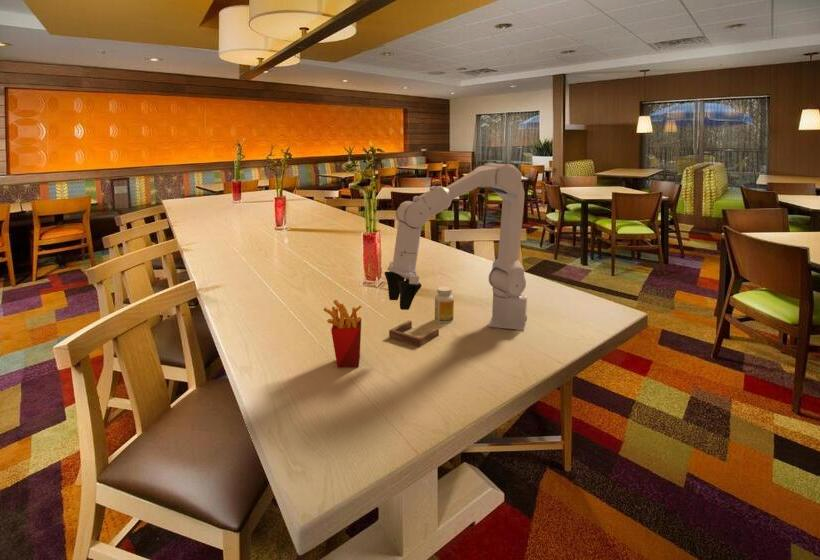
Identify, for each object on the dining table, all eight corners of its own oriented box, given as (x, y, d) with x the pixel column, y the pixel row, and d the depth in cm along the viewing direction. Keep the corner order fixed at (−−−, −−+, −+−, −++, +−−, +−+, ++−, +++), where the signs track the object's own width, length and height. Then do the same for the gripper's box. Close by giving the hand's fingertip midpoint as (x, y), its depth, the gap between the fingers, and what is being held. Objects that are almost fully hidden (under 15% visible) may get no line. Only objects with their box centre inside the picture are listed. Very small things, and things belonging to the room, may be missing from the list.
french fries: (364, 355, 116) (361, 297, 112) (362, 372, 108) (359, 309, 104) (327, 357, 116) (323, 298, 112) (322, 373, 108) (318, 310, 104)
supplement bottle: (430, 320, 137) (430, 288, 135) (442, 315, 141) (442, 284, 138) (445, 325, 134) (445, 292, 131) (457, 320, 138) (457, 288, 135)
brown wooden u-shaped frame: (408, 327, 133) (408, 320, 132) (438, 335, 127) (438, 328, 126) (389, 337, 126) (389, 330, 126) (419, 346, 121) (419, 339, 120)
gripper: (380, 244, 122) (374, 295, 125) (402, 256, 109) (394, 313, 112) (406, 246, 124) (399, 296, 127) (430, 258, 112) (421, 314, 115)
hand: (398, 304), depth 120 cm, fingers open, 7 cm apart
